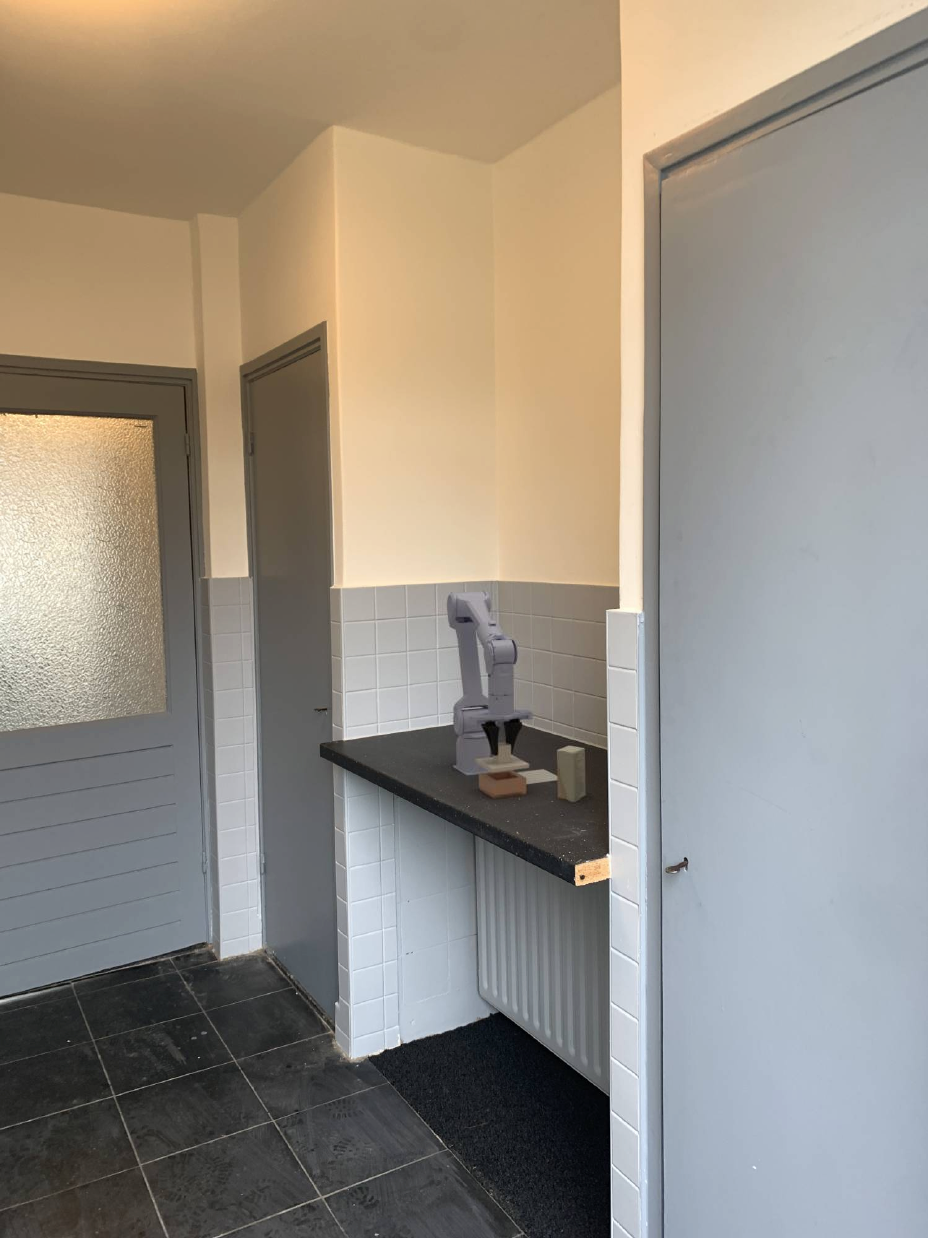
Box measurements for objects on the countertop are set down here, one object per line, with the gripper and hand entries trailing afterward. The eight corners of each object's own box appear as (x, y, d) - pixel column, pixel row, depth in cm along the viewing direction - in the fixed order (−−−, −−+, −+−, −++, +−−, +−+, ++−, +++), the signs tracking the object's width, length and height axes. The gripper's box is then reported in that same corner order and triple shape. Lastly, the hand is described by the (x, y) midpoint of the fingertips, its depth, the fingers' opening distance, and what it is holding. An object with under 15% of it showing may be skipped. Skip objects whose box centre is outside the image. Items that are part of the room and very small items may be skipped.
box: (569, 793, 200) (569, 745, 199) (586, 797, 198) (586, 747, 197) (556, 799, 196) (556, 749, 195) (573, 803, 194) (572, 752, 192)
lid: (475, 762, 204) (475, 741, 203) (511, 758, 207) (511, 737, 206) (491, 772, 195) (491, 750, 195) (529, 767, 199) (529, 746, 198)
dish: (479, 791, 204) (478, 773, 203) (511, 786, 207) (510, 769, 206) (493, 800, 196) (493, 782, 196) (526, 795, 199) (526, 778, 199)
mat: (506, 775, 216) (506, 774, 216) (543, 770, 220) (543, 769, 220) (524, 786, 207) (524, 784, 207) (563, 780, 211) (563, 779, 211)
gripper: (478, 699, 193) (479, 761, 194) (538, 693, 199) (539, 754, 200) (465, 694, 200) (466, 754, 201) (524, 688, 205) (525, 747, 206)
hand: (502, 753), depth 201 cm, fingers closed on lid, 3 cm apart
